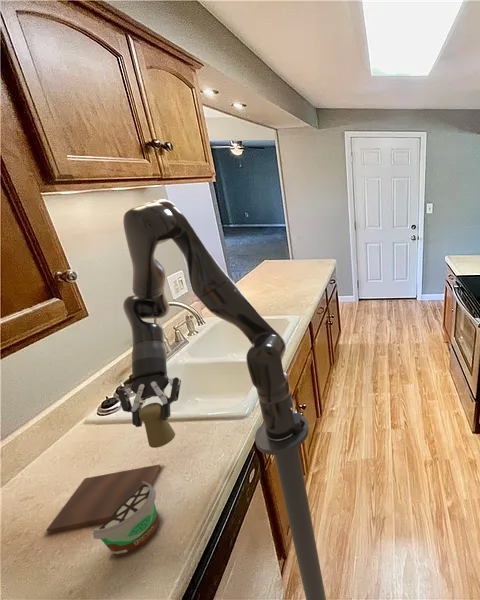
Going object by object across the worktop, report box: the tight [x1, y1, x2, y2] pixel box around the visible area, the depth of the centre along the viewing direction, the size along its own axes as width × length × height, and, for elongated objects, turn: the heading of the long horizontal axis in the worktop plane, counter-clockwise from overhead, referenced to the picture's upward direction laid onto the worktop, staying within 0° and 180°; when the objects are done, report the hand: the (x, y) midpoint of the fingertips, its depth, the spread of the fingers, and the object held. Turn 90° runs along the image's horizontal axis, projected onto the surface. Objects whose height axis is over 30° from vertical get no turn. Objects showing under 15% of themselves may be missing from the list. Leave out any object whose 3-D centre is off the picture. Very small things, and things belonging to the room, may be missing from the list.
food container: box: [92, 481, 160, 557], centre depth 73 cm, size 12×6×10 cm, turn 170°
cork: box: [139, 402, 176, 449], centre depth 87 cm, size 6×6×11 cm
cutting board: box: [46, 464, 162, 535], centre depth 84 cm, size 18×14×2 cm
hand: (152, 422), depth 85 cm, fingers closed on cork, 5 cm apart
